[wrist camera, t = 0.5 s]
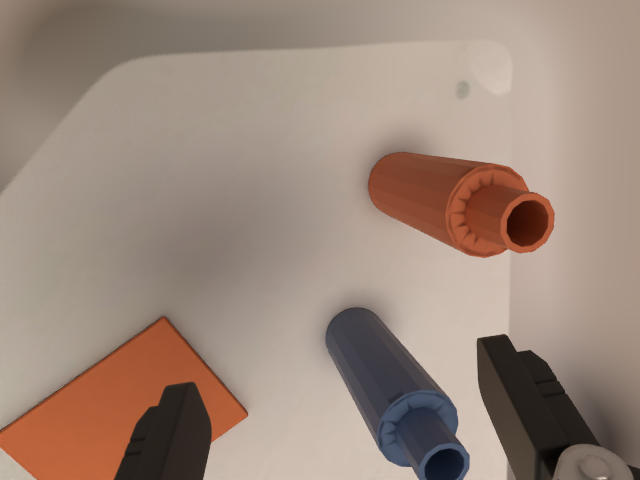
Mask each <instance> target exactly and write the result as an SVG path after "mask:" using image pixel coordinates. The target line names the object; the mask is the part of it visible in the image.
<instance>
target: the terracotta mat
mask: <svg viewBox="0 0 640 480" xmlns="http://www.w3.org/2000/svg"><path fill="white" fill-rule="evenodd" d="M185 382H194V383H195V384H196V385H197V388H198V390H199V393H200V395H201V397H202V400H203V402H204V405H205V407H206V410H207V412H208V415H209V417H210V420H211V426H212V440H211V442H213V441H214V440H216V439H217V438H218V437H220V436H221V435H222V434H224V433H225V432H227V431H228V430H229V429H231V428H232V427H234V426H235V425H236V424H238V423H239V422H241V421H242V420H243V419H245V418H246V417H247V416H248V412H247V411H246V410H245V409H244V408H243V406H242V405H241V404H240V403H239V402H238V401H237V399H236V398H235V397H234V396H233V395H232V394H231V393H230V391H229V390H228V389H227V388H226V387H225V386H224V384H223V383H222V382H221V381H220V380H219V379H218V377H217V376H216V375H215V374H214V373H213V372H212V371H211V369H210V368H209V367H208V366H207V365H206V364H205V362H204V361H203V360H202V359H201V358H200V357H199V356H198V354H197V353H196V352H195V351H194V350H193V349H192V347H191V346H190V345H189V344H188V343H187V342H186V340H185V339H184V338H183V337H182V336H181V335H180V334H179V332H178V331H177V330H176V329H175V328H174V327H173V325H172V324H171V323H170V322H169V321H168V320H167V318H166V317H165V316H164V317H163V318H161V319H160V320H158V321H157V322H155V323H154V324H153V325H151V326H150V327H148V328H147V329H145V330H144V331H143V332H141V333H140V334H138V335H137V336H135V337H134V338H133V339H131V340H130V341H128V342H127V343H125V344H124V345H123V346H121V347H120V348H118V349H117V350H115V351H114V352H113V353H111V354H110V355H108V356H107V357H105V358H104V359H103V360H101V361H100V362H98V363H97V364H96V365H94V366H93V367H91V368H90V369H88V370H87V371H86V372H84V373H83V374H81V375H80V376H78V377H77V378H76V379H74V380H73V381H71V382H70V383H68V384H67V385H66V386H64V387H63V388H61V389H60V390H58V391H57V392H56V393H54V394H53V395H51V396H50V397H48V398H47V399H46V400H44V401H43V402H41V403H40V404H38V405H37V406H36V407H34V408H33V409H31V410H30V411H28V412H27V413H26V414H24V415H23V416H21V417H20V418H18V419H17V420H16V421H14V422H13V423H11V424H10V425H9V426H7V427H6V428H4V429H3V430H1V431H0V447H1V448H2V449H3V450H4V451H5V452H6V453H7V454H8V455H10V456H11V457H12V458H13V459H14V460H15V461H16V462H18V463H19V464H20V465H21V466H22V467H23V468H24V469H26V470H27V471H28V472H29V473H30V474H31V475H32V476H34V477H35V478H36V479H37V480H114V478H115V475H116V473H117V470H118V468H119V465H120V463H121V460H122V458H123V457H124V456H125V454H124V453H125V450H126V448H127V445H128V443H130V438H131V435H132V433H133V430H134V428H135V425H136V423H137V422H138V420H139V419H140V418H141V417H142V415H143V414H144V413H145V412H146V411H147V409H148V408H149V407H152V406H158V404H159V401H160V399H161V396H162V393H163V390H164V388H165V387H166V386H167V385H172V384H179V383H185Z"/></svg>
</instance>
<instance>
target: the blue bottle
mask: <svg viewBox="0 0 640 480" xmlns="http://www.w3.org/2000/svg"><path fill="white" fill-rule="evenodd" d="M326 345H327V348H328V351H329V353H330V355H331V357H332V359H333V361H334V363H335V365H336V367H337V369H338V371H339V373H340V375H341V377H342V378H343V380H344V382H345V384H346V386H347V388H348V390H349V392H350V394H351V396H352V398H353V400H354V402H355V404H356V405H357V407H358V409H359V411H360V413H361V415H362V417H363V419H364V421H365V423H366V425H367V427H368V429H369V431H370V432H371V434H372V436H373V438H374V440H375V442H376V444H377V446H378V448H379V450H380V451H381V452H382V454H383V455H384V456H385V458H386V459H387V460H388V461H390V462H392V463H394V464H396V465H399V466H401V467H412V468H413V470H414V472H415V473H416V475H417V477H418V479H419V480H463V478H464V477H465V475H466V473H467V471H468V470H469V458H470V456H469V454H468V453H467V451H466V450H465V448H464V447H463V445H462V444H461V443H460V442H459V440H458V439H457V438H456V436H455V434H456V431H457V427H458V416H457V410H456V408H455V406H454V405H453V403H452V401H451V400H450V398H449V397H448V396H447V395H446V394H445V393H444V392H443V390H442V389H441V388H440V387H439V386H438V385H437V384H436V382H435V381H434V380H433V379H432V378H431V377H430V376H429V374H428V373H427V372H426V371H425V370H424V369H423V368H422V366H421V365H420V364H419V363H418V362H417V361H416V360H415V358H414V357H413V356H412V355H411V354H410V353H409V352H408V350H407V349H406V348H405V347H404V346H403V345H402V344H401V342H400V341H399V340H398V339H397V338H396V337H395V336H394V334H393V333H392V332H391V331H390V330H389V329H388V328H387V326H386V325H385V324H384V323H383V322H382V321H381V320H380V318H379V317H378V316H376V315H375V314H374V313H373V312H371V311H369V310H367V309H363V308H352V309H348V310H345V311H343V312H341V313H340V314H338V315H337V316H336V317H335V318H334V319H333V320H332V322H331V323H330V325H329V327H328V329H327V332H326Z"/></svg>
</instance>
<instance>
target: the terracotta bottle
mask: <svg viewBox="0 0 640 480" xmlns="http://www.w3.org/2000/svg"><path fill="white" fill-rule="evenodd" d="M369 194H370V197H371V199H372V201H373V203H374V204H375V206H376V207H377V208H378V209H379V210H381V211H382V212H384V213H386V214H387V215H389V216H391V217H393V218H395V219H397V220H399V221H401V222H403V223H405V224H407V225H409V226H411V227H413V228H415V229H417V230H419V231H421V232H423V233H425V234H427V235H429V236H431V237H433V238H435V239H437V240H439V241H441V242H443V243H445V244H447V245H449V246H451V247H453V248H455V249H457V250H459V251H461V252H463V253H465V254H467V255H470V256H477V257H483V258H486V257H490V256H494V255H497V254H501V253H503V252H504V251H505V250H507V249H510V250H512V251H515V252H517V253H525V252H533V251H535V250H536V249H537V248H539V247H540V246H542V245H543V244H544V243H545V242H546V241H547V239H548V238H549V236H550V234H551V232H552V230H553V228H554V211H553V209H552V207H551V204H550V202H549V200H548V199H546V198H544V197H543V196H541V195H539V194H537V193H534V192H529V190H528V188H527V186H526V184H525V182H524V180H523V178H522V177H521V176H520V175H519V174H517V173H516V172H515V171H514V170H513V169H511V168H510V167H507V166H502V165H498V164H493V163H485V162H477V161H469V160H461V159H453V158H445V157H437V156H429V155H421V154H414V153H406V152H398V153H393V154H389V155H387V156H385V157H384V158H382V159H381V160H380V161H379V162H378V163H377V164H376V165H375V167H374V168H373V170H372V172H371V174H370V178H369Z"/></svg>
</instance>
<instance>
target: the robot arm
mask: <svg viewBox="0 0 640 480" xmlns="http://www.w3.org/2000/svg"><path fill="white" fill-rule="evenodd" d="M477 365H478V383H479V389H480V393H481V396H482V399H483V402H484V405H485V407H486V409H487V412H488V414H489V416H490V419H491V421H492V423H493V426H494V428H495V430H496V433H497V435H498V437H499V440H500V442H501V444H502V447H503V449H504V451H505V454H506V456H507V458H508V461H509V463H510V465H511V468H512V470H513V472H514V475H515V477H516V479H517V480H640V469H638V468H635V467H632V466H630V465H627V464H625V462H624V461H623V460H622V459H620V458H619V457H618V456H617V455H615V454H614V453H612V452H610V451H609V450H607V449H604V448H602V447H601V445H600V444H599V443H598V441H597V440H596V438H595V437H594V436H593V434H592V432H591V431H590V429H589V428H588V426H587V425H586V423H585V421H584V420H583V418H582V417H581V415H580V414H579V412H578V410H577V409H576V407H575V406H574V404H573V403H572V401H571V400H570V398H569V396H568V395H567V394H565V390H564V389H563V387H562V386H561V384H560V382H559V381H557V378H556V376H555V375H554V373H553V372H552V370H551V368H550V367H549V365H548V364H547V362H545V361H544V360H543V359H541V358H540V357H539V356H537V355H536V354H535V353H533V352H532V351H531V350H528V351H521V352H517V351H516V350H515V348H514V346H513V345H512V343H511V341H510V339H509V338H508V336H507V335H506V334H502V335H496V336H489V337H483V338H478V339H477ZM211 440H212V426H211V420H210V417H209V415H208V412H207V410H206V407H205V405H204V402H203V400H202V397H201V395H200V393H199V390H198V388H197V385H196V384H195V383H194V382H185V383H179V384H172V385H167V386H166V387H165V388H164V390H163V393H162V396H161V399H160V401H159V404H158V406H152V407H149V408H148V409H147V411H146V412H145V413H144V414H143V415H142V417H141V418H140V419H139V420H138V422H137V423H136V425H135V428H134V430H133V433H132V435H131V438H130V443H128V445H127V448H126V450H125V453H124V454H125V456H124V457H123V458H122V460H121V463H120V465H119V468H118V470H117V473H116V475H115V478H114V480H203V477H204V473H205V468H206V463H207V459H208V454H209V449H210V445H211Z"/></svg>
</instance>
